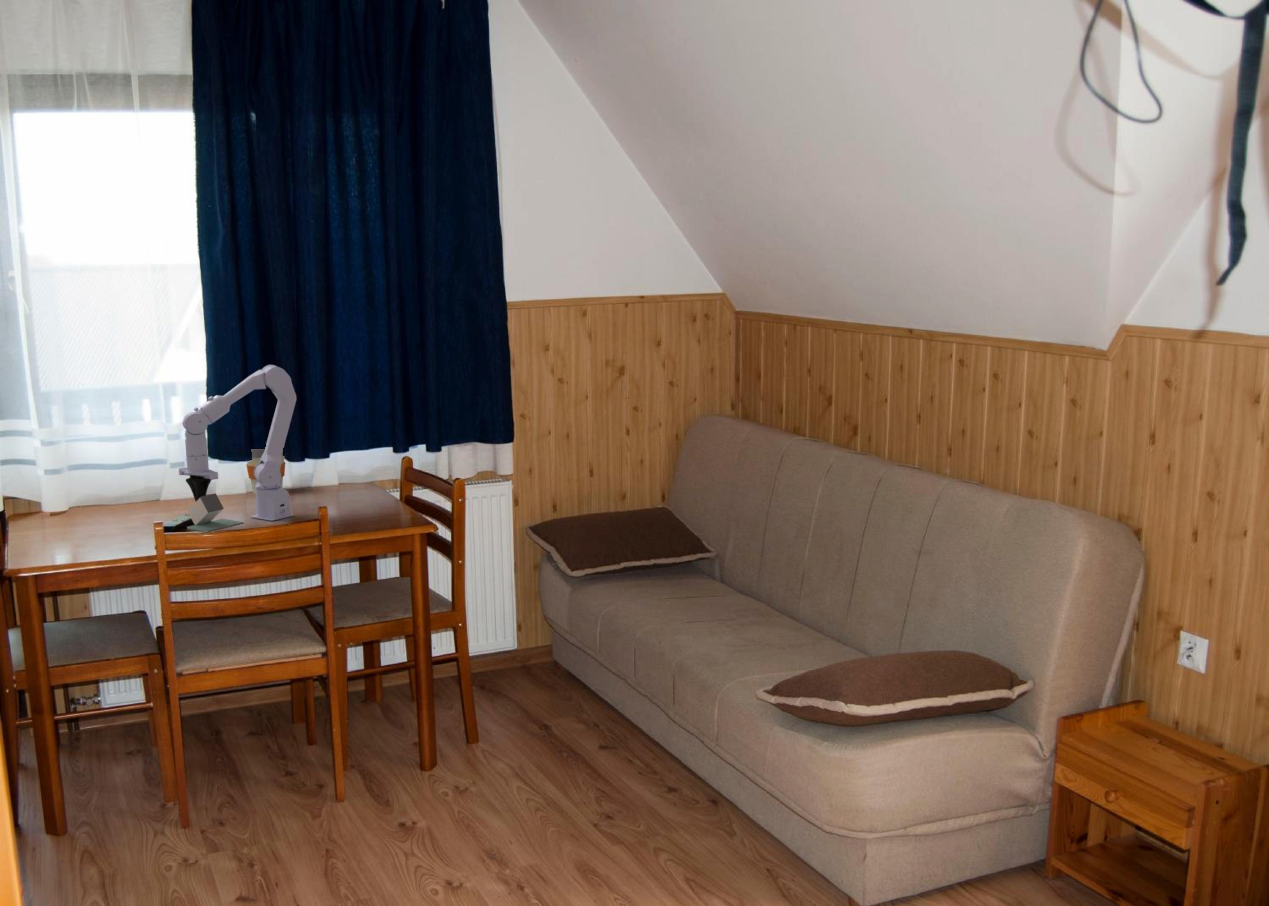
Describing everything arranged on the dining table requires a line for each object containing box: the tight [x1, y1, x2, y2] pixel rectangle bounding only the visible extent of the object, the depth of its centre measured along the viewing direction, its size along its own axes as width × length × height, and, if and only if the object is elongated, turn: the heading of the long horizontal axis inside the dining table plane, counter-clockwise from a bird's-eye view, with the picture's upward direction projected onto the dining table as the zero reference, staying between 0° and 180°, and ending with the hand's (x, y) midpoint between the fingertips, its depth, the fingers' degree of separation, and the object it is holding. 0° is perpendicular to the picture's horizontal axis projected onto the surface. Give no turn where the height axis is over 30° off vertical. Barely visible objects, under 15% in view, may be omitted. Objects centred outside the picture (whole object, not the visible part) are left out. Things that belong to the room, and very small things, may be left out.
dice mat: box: [186, 518, 245, 532], centre depth 327 cm, size 9×13×1 cm
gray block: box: [187, 493, 225, 525], centre depth 328 cm, size 5×5×8 cm
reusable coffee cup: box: [246, 449, 286, 495], centre depth 374 cm, size 13×13×15 cm
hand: (200, 502), depth 329 cm, fingers closed
